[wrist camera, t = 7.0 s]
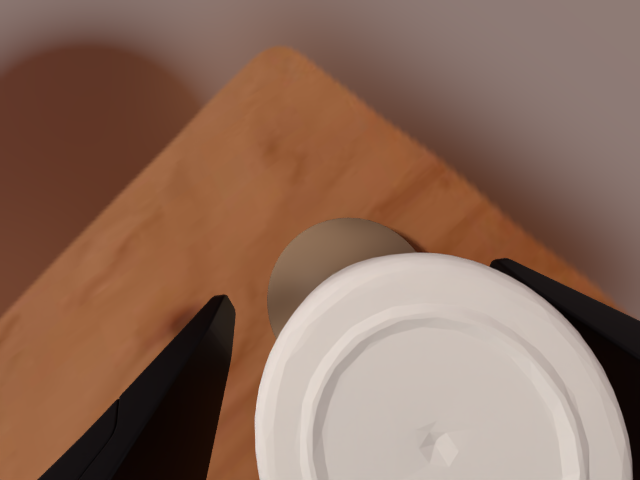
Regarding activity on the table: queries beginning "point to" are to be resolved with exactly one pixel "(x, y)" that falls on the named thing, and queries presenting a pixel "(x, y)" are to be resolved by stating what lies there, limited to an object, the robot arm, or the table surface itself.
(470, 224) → the table surface
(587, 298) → the robot arm
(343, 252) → the grey-brown round disc
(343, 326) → the sprinkles bottle
